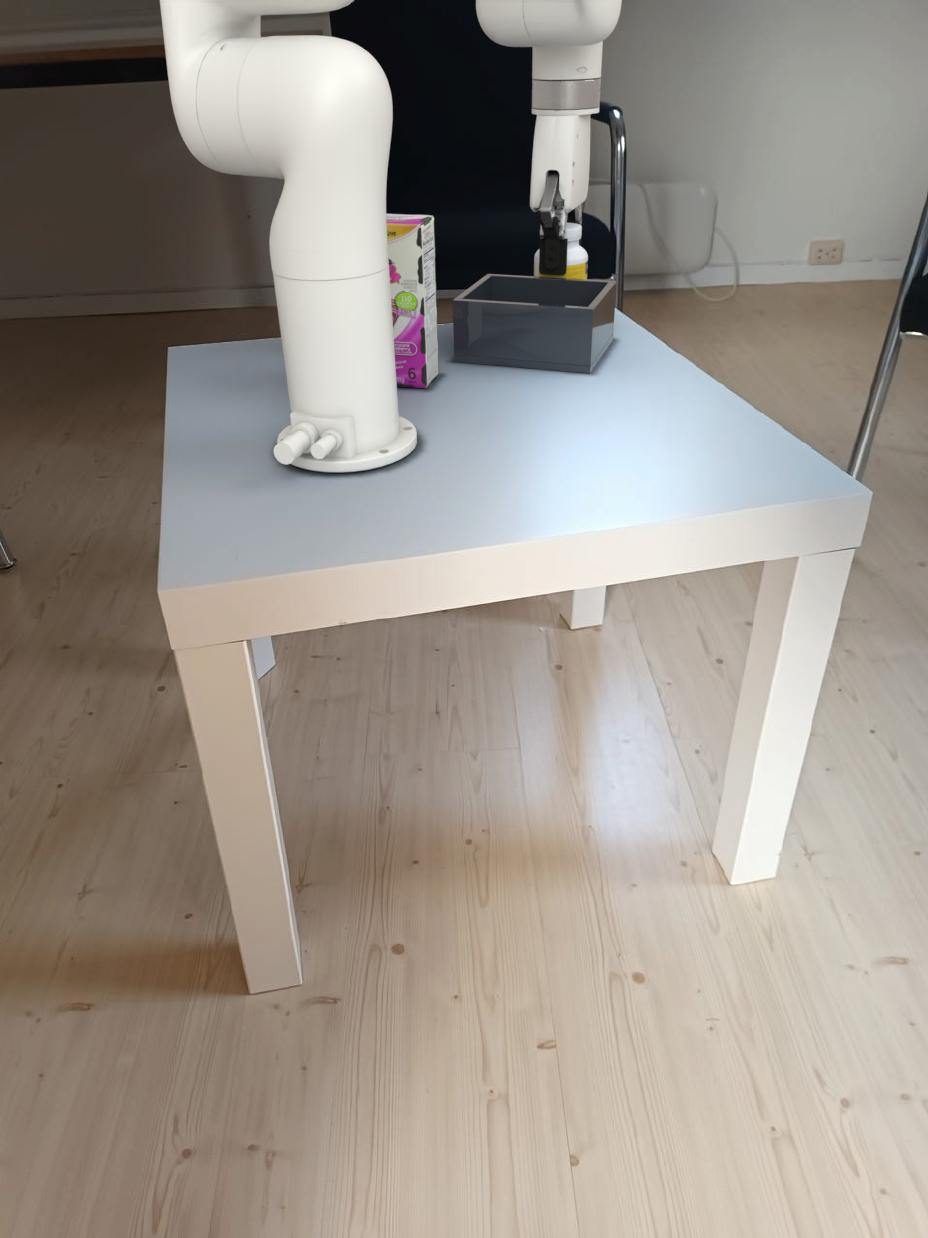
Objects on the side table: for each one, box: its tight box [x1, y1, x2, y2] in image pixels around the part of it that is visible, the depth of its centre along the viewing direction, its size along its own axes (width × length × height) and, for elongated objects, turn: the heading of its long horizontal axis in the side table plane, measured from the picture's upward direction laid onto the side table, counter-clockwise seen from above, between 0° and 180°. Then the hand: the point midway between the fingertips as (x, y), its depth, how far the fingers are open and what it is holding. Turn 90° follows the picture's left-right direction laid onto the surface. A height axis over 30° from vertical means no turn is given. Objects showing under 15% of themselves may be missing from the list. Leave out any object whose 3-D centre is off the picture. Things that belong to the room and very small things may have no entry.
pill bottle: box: [533, 222, 589, 279], centre depth 112 cm, size 6×6×12 cm
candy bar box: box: [386, 213, 440, 389], centre depth 95 cm, size 11×5×16 cm, turn 76°
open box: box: [452, 273, 617, 374], centre depth 105 cm, size 13×16×7 cm
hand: (560, 265), depth 111 cm, fingers closed on pill bottle, 6 cm apart
